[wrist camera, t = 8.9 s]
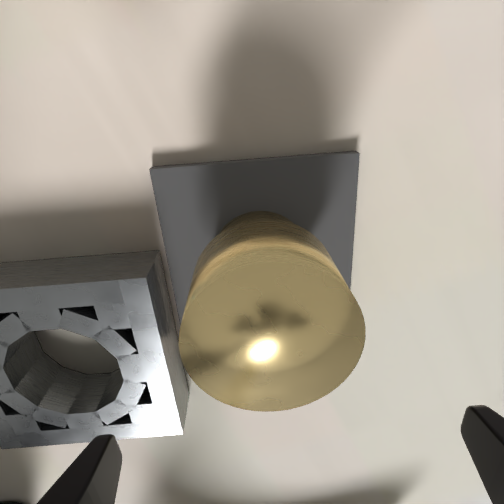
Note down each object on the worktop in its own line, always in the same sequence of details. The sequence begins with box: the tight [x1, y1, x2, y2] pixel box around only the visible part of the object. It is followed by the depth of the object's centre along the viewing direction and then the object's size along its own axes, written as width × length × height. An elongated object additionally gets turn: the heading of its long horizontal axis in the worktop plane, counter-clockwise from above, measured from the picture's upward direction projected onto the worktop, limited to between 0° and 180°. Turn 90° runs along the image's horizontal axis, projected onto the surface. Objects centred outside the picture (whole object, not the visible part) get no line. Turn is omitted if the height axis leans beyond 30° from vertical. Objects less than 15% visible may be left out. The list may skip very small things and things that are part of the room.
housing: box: [0, 250, 189, 449], centre depth 19 cm, size 11×11×3 cm
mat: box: [149, 151, 359, 325], centre depth 18 cm, size 10×10×1 cm
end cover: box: [179, 211, 365, 411], centre depth 15 cm, size 6×6×7 cm
